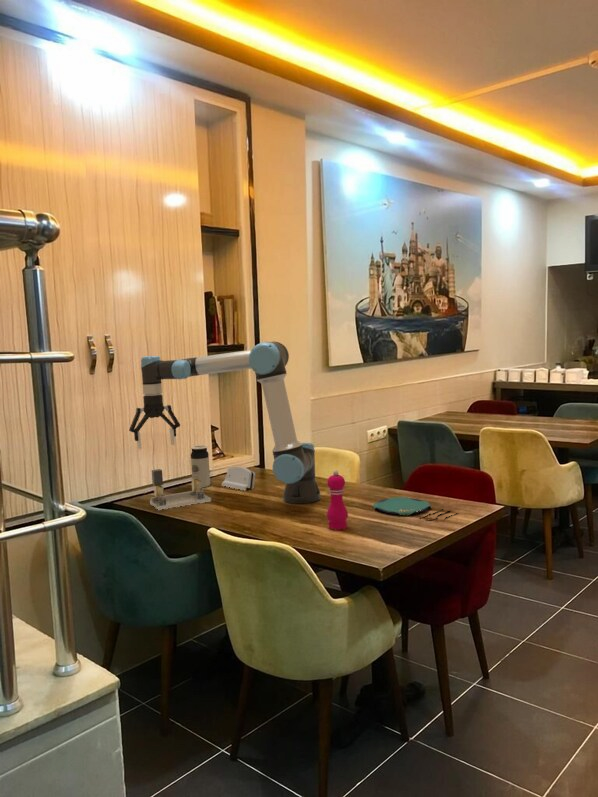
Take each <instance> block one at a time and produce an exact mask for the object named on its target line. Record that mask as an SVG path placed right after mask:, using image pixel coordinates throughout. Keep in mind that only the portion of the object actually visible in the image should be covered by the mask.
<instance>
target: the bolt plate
mask: <svg viewBox="0 0 598 797" xmlns="http://www.w3.org/2000/svg"><path fill="white" fill-rule="evenodd" d="M201 484H202V482H201V481H199V479H198V478H195V479H192V478H191V490H189V491H183V492H178V493H177V492H176V493H171V494H163V496H162V497H156V496H151V497H150V500H149V504H150V505H151V507H153V506H154V507H155V510H157V509H158V510H157V511H163V510H162V509H164V510H169V509H168V508H170V509H173V508H172V507H176V508H180V506H182V507H186V506H185V505H188V506H192V505H191V504H194V505H198V504H197V503H200V504H205V502H206V503H210V502H212V497H210V496H209V495H207V494H205V492H204V491H205V490H204V489H202V488H201ZM154 507H153V508H154Z"/></svg>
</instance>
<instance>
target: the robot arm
mask: <svg viewBox="0 0 598 797" xmlns="http://www.w3.org/2000/svg"><path fill="white" fill-rule="evenodd" d="M289 354H290V353H289V351H288V348H287V347H286V346H285V345H284V344H283V343H281V342H279V341H263V342H260V343H258V344H256V345H255V346H253V347H252V348H251V349H248V350H240V351H233V352H225V353H219V354H211V355H204V356H198V357H187V358H180V359H174V360H172V359H171V360H170V359H169V360H161V357H160V356H159V355H146V356H142V357H141V359H140V369H141V378H142V379H141V380H142V394H143V398H142V399H143V407H140V408H139V407H136V408H135V413H134V414H135V415H134V417H133V420H132V422H131V424H130V427H129V428H128V431H129V432H131V433H133V434H134V435H133V436H134V441H135V442H137V449H138V450H142V442H141V441H142V438H141V432H140V430H141V429H142V428H143V426H144V425H145V423H146V422H147V421H148V420H149V419H154V418H161V419H162V420H164V421H165V423H166V424H167V425H169V426H170V428H169V437H170V445H171V446H175V437H177V428H180V427H181V424H180V422H179V420H178V418H177V417H176V415H175V414H174V411H173V410H172V406H171V405H170V404H167V405H164V398H163V384H162V380H184V379H185V380H186V379H188V378H189V377H195V376H196V377H197V376H202V375H203V376H205V375H212V374H220V373H228V372H236V371H243V370H252V371H253V372H254V374H255V378H256V381H257V382H258V383H260V384H261V387H262V393H263V395H264V396H263V397H264V400H265V405H266V410H267V414H268V419H269V422H270V428H271V431H272V437H273V441H274V446H273V448H272V451H271V452H272V456H273V462H272V472H273V475H274V476H275V478H276V479H277V481H279V482H280V483H284V484H285V487H284V491H283V494H282V497H283V498H282V499H283V501H284V502H286V503H288V504H289V503H290V504H297V505H298V504H309V503H315V502H318V501H320V500H321V491H320V488H319V485H318V482H317V480H316V458H315V457H316V456H315V455H316V454H315V452H316V450H315V445H314V443H311V442H300V441H298V437H297V434H296V428H295V424H294V420H293V415H292V411H291V406H290V403H289V397H288V392H287V388H286V384H285V378H286V376H287V369H286V366H287V365H288V362H289V359H290V355H289ZM164 411H167V413H168V414H169V416H170V418H171V420H172V421H173V422H172V421H171V420H170V419H169V418H168V417H167V416H166V415H165V413H164ZM142 412H144V413H145V414H144V415H143V417H142V418H141V419H140V421H139V418H140V416H141V414H143V413H142ZM138 421H139V422H138Z"/></svg>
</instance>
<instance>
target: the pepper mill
mask: <svg viewBox="0 0 598 797" xmlns="http://www.w3.org/2000/svg"><path fill="white" fill-rule="evenodd" d="M332 474H333V475H330V476H329V477H328V478H327V483H326V484H327V487H328V488H329V489H328V491H329V492H328V493H329V494H330V503H329V506H328V508H327V510H326V519H328V521H329V522H328V528H330V530H331V529H336V530H335V531H339V530H338V529H343V530H345V529H344V528H346V527H347V528H348V524H347V523H348V522H347V521H346V520H347V519H348V518H349V515H348V509H347V507H346V505H345V504H344V499H343V494H344V493H345V489H344V487H345V485H346V481H345V478H344V476H342V475H341V474H339V471H338V470H336V469H334V471H333V473H332ZM347 528H346V529H347Z"/></svg>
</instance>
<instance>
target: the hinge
mask: <svg viewBox="0 0 598 797" xmlns="http://www.w3.org/2000/svg"><path fill="white" fill-rule="evenodd" d="M255 480H256V473H255V472H254V471H253V470H251V469H249V468H247V467H243V466H232V467H229V468H228V469H227V472H226V475H225V478H224V480H223V481H222V483H221V487H224V486H226V487H225V488H229V487H230V488H229V489H234V488H235V489H234V490H238V489H240V490H239V491H243V490H244V492H245V491H247V489H252V490H254V489H253V488H255Z"/></svg>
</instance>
